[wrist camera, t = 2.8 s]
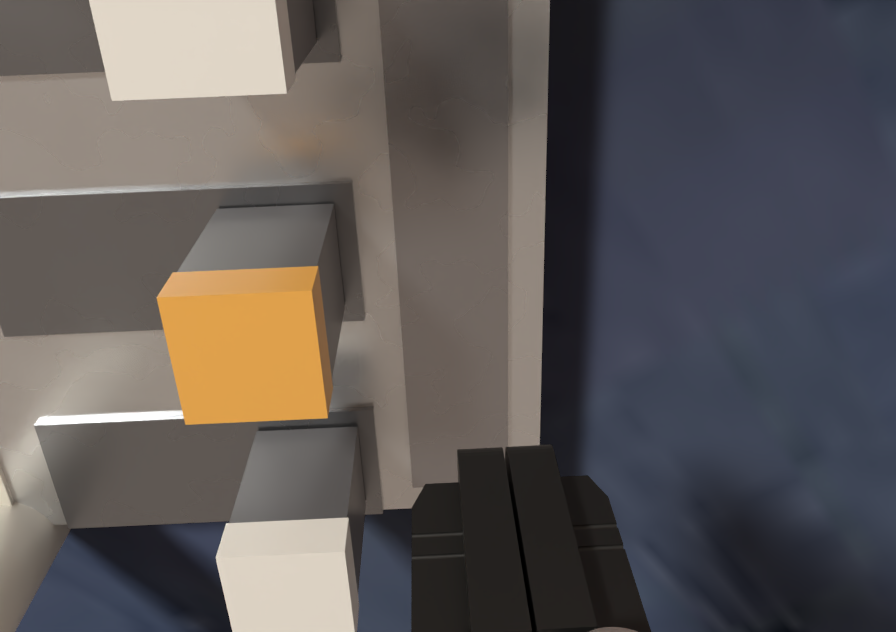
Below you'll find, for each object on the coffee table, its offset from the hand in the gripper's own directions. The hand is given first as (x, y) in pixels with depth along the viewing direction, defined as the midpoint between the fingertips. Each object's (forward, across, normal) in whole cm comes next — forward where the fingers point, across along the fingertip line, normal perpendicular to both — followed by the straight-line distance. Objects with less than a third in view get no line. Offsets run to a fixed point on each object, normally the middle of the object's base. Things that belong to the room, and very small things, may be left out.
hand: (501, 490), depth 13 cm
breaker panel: (+13, +10, 0) cm, 16 cm away
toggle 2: (+10, +5, 0) cm, 11 cm away
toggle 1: (+10, +5, -7) cm, 13 cm away
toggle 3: (+10, +5, +7) cm, 13 cm away
